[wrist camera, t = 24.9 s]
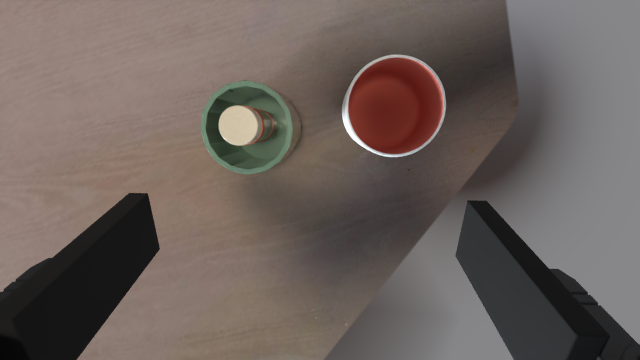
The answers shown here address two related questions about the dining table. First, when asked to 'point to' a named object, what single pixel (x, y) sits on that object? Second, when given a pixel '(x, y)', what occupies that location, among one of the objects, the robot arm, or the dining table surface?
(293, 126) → the tumbler
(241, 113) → the cream banded cylinder
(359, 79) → the cup
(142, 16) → the dining table surface
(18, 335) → the robot arm
